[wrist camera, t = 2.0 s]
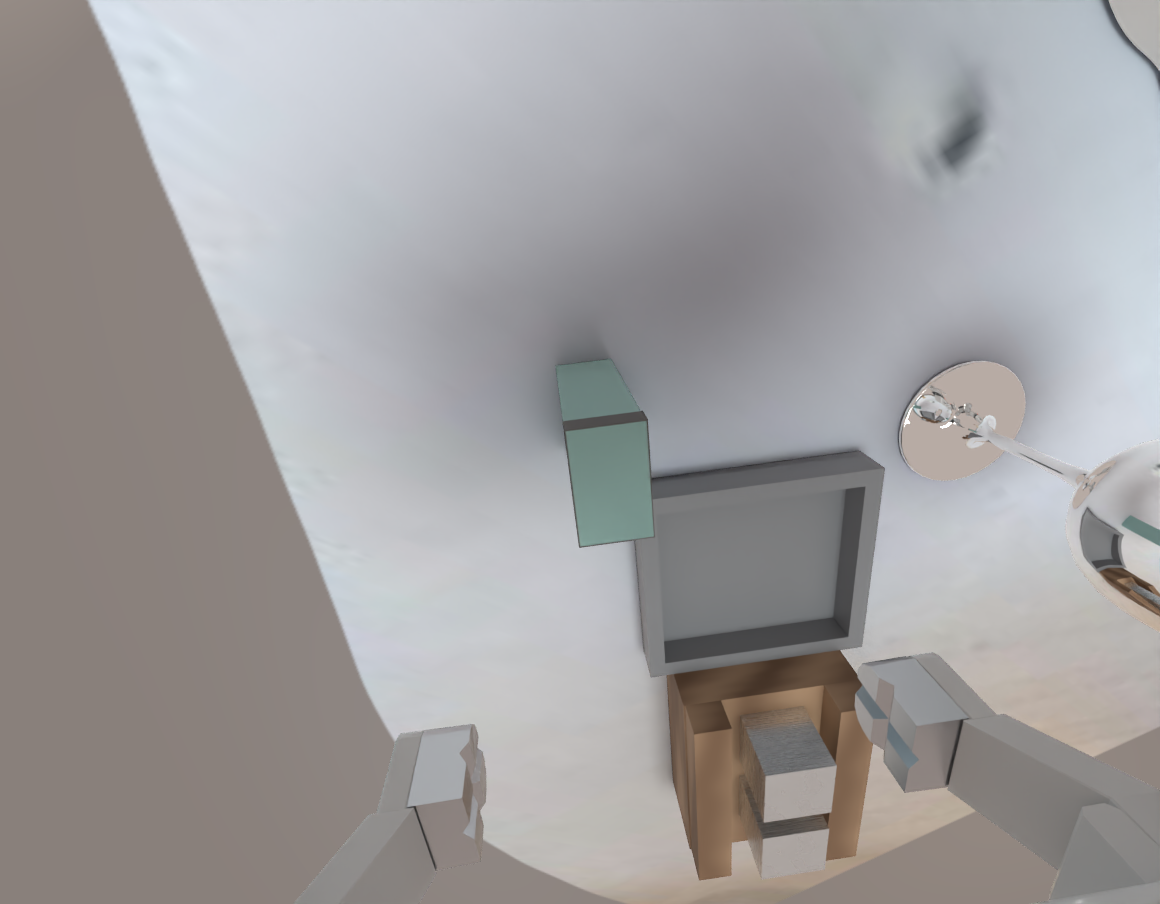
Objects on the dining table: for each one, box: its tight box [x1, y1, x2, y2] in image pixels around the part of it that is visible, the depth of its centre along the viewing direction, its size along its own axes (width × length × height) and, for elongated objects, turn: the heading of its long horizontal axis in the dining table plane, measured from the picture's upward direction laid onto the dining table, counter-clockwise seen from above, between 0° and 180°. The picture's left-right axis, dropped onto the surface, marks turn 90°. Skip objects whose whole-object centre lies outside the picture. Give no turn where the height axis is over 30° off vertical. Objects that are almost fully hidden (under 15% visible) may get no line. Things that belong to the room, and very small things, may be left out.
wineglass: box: [899, 360, 1160, 633], centre depth 23 cm, size 8×8×20 cm
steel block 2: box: [739, 774, 829, 879], centre depth 34 cm, size 4×4×4 cm
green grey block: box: [556, 359, 655, 548], centre depth 25 cm, size 5×3×10 cm, turn 6°
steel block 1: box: [740, 706, 837, 823], centre depth 32 cm, size 4×4×4 cm
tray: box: [635, 451, 885, 677], centre depth 33 cm, size 14×13×2 cm
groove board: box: [667, 650, 873, 880], centre depth 37 cm, size 11×14×7 cm
